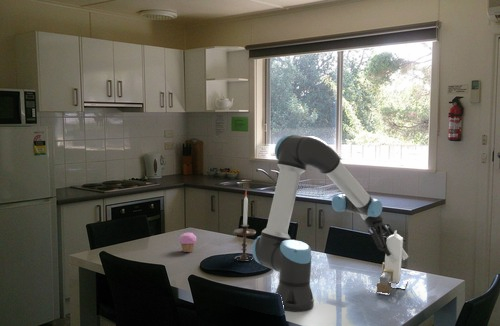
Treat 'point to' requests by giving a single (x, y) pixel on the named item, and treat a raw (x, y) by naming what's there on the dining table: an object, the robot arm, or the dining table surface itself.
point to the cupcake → (187, 241)
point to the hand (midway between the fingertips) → (400, 260)
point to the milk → (396, 247)
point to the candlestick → (244, 231)
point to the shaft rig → (385, 280)
